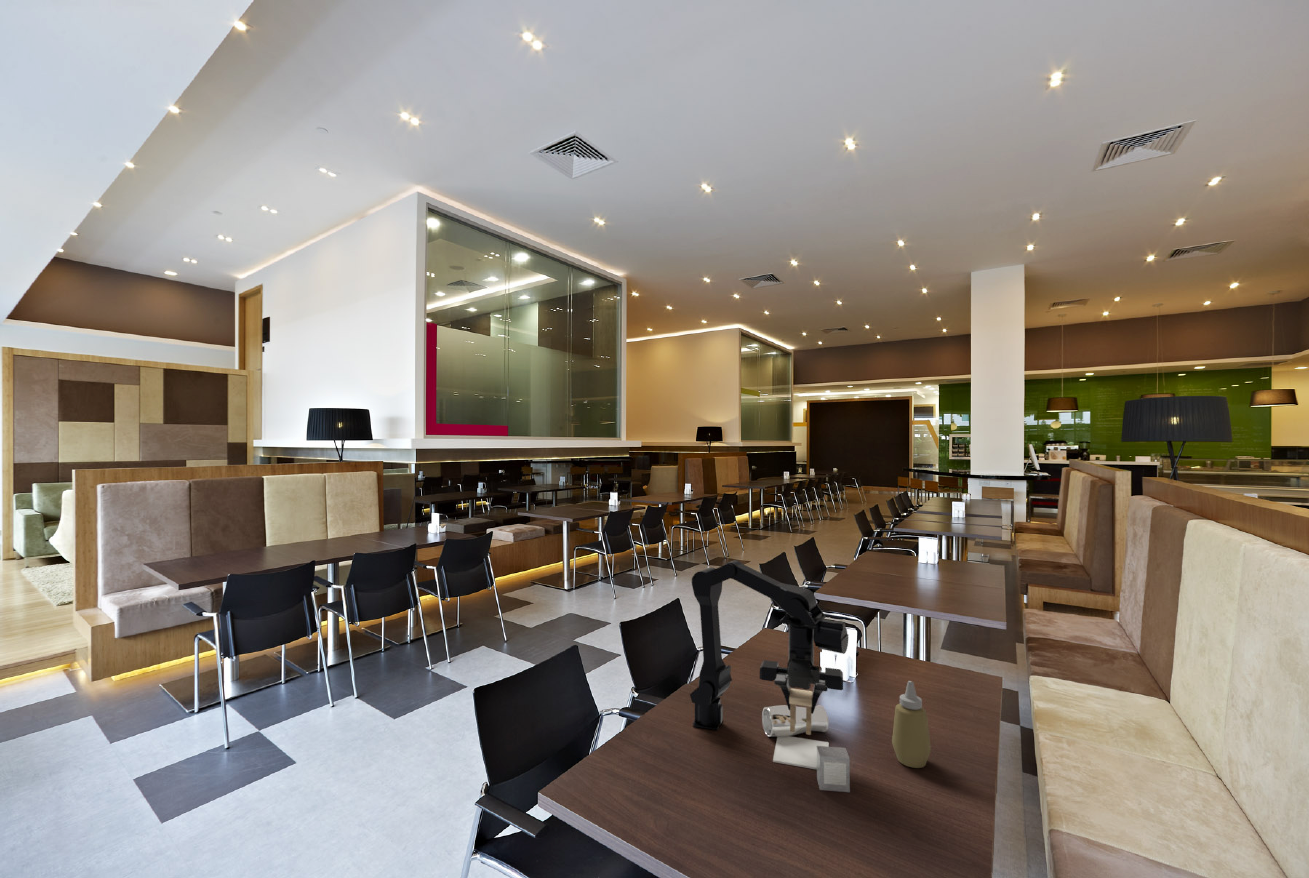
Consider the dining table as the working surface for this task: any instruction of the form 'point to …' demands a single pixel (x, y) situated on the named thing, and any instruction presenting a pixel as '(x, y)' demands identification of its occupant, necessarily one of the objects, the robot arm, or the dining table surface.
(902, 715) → the squeeze bottle
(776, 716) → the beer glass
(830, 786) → the napkin dispenser
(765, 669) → the robot arm
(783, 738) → the felt pad
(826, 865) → the dining table surface
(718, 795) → the dining table surface
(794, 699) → the stool
